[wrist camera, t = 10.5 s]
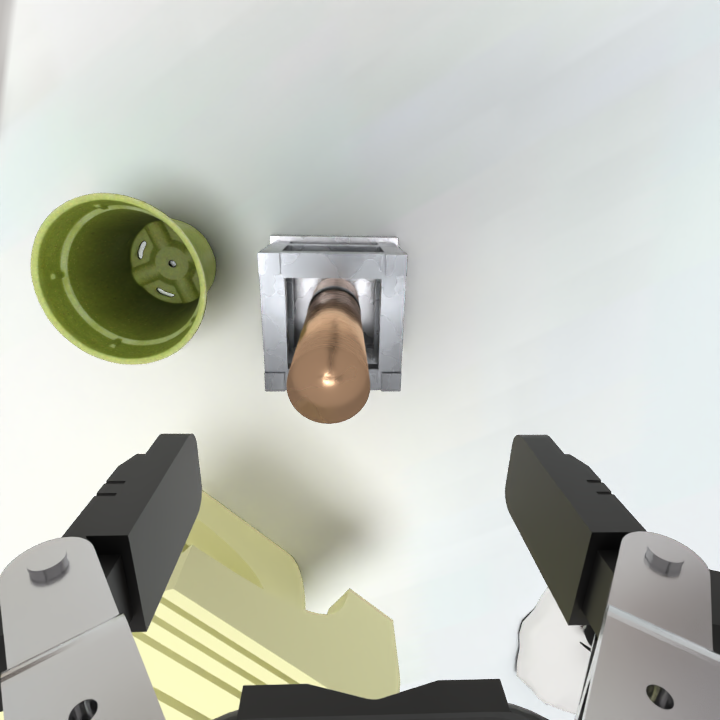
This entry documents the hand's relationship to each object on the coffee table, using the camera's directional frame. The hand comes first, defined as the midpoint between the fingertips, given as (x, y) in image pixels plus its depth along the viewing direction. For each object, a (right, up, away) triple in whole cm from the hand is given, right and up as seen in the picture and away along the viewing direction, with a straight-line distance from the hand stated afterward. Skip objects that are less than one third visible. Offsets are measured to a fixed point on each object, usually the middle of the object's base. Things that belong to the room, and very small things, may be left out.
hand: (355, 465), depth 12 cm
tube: (-2, +7, +22) cm, 23 cm away
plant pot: (-13, +10, +22) cm, 27 cm away
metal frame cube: (-2, +7, +23) cm, 24 cm away
